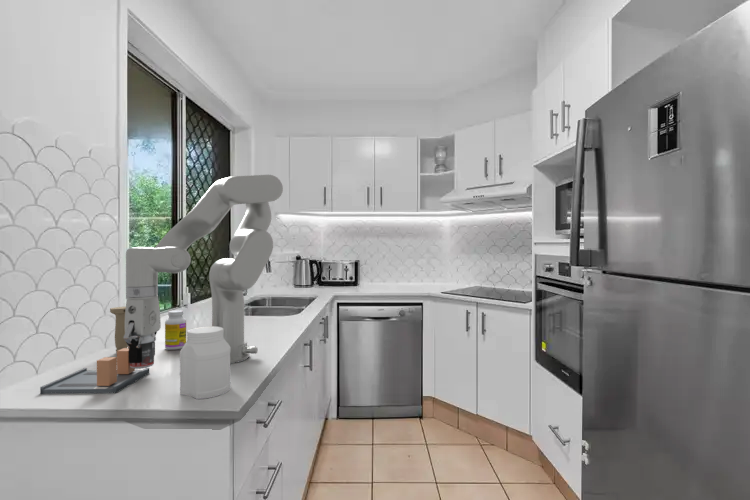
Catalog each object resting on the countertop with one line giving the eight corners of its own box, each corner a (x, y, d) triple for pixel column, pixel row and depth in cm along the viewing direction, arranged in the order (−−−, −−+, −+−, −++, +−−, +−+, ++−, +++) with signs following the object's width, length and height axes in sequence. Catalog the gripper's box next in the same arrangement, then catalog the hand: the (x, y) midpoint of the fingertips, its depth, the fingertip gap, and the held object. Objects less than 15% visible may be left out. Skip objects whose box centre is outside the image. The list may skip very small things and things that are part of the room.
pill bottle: (129, 370, 106) (129, 332, 106) (130, 364, 111) (130, 328, 111) (154, 367, 109) (154, 330, 109) (154, 362, 114) (154, 326, 114)
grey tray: (149, 373, 113) (149, 367, 113) (115, 393, 98) (115, 386, 98) (83, 374, 113) (83, 368, 113) (40, 393, 98) (40, 387, 98)
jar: (173, 392, 99) (172, 330, 99) (206, 381, 107) (206, 324, 107) (204, 401, 93) (204, 336, 93) (237, 388, 101) (237, 328, 101)
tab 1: (116, 381, 103) (116, 357, 103) (109, 385, 100) (109, 360, 100) (104, 381, 103) (104, 357, 102) (96, 385, 100) (96, 360, 99)
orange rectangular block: (134, 370, 112) (134, 348, 112) (128, 374, 109) (128, 351, 109) (123, 370, 112) (123, 348, 111) (117, 374, 109) (116, 351, 108)
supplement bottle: (180, 350, 138) (180, 312, 138) (161, 350, 138) (161, 312, 138) (189, 345, 145) (189, 309, 145) (171, 345, 145) (171, 309, 145)
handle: (135, 351, 136) (135, 307, 136) (114, 355, 131) (113, 309, 131) (129, 349, 139) (128, 305, 139) (108, 353, 134) (107, 308, 134)
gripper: (138, 296, 101) (138, 368, 102) (171, 289, 119) (171, 351, 119) (108, 296, 101) (108, 368, 101) (145, 289, 118) (145, 351, 119)
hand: (142, 358), depth 110 cm, fingers closed on pill bottle, 5 cm apart
